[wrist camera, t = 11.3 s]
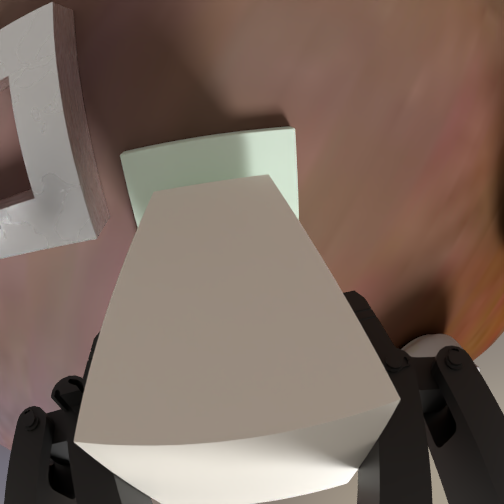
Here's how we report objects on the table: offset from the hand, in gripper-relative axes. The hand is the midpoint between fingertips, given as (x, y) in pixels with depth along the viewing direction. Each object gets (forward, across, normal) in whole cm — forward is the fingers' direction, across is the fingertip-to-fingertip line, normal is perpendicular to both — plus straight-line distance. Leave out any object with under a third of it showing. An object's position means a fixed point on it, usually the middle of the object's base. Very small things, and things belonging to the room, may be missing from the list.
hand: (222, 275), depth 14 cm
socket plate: (+7, -14, +8) cm, 18 cm away
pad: (+7, 0, 0) cm, 7 cm away
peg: (+4, 0, 0) cm, 4 cm away
